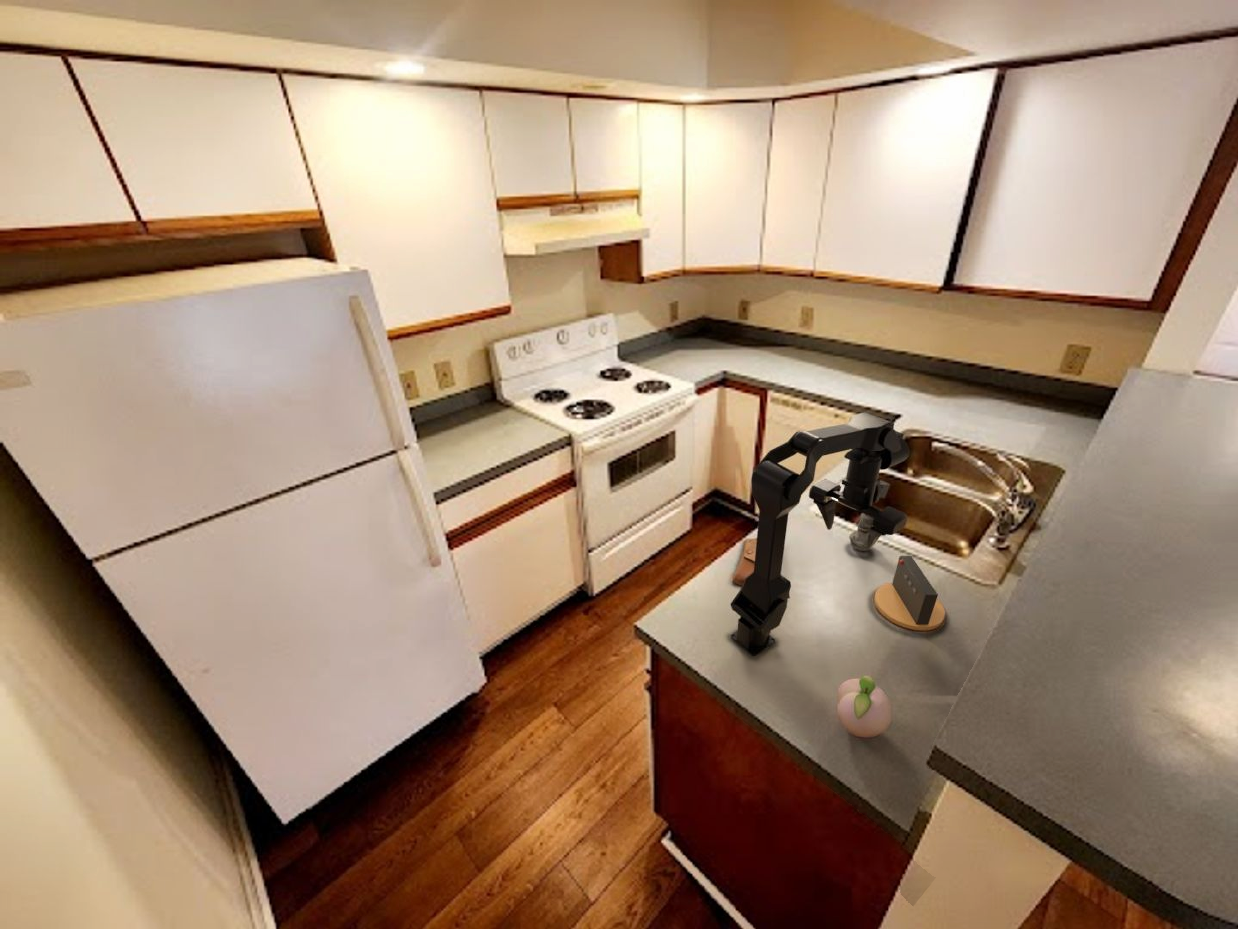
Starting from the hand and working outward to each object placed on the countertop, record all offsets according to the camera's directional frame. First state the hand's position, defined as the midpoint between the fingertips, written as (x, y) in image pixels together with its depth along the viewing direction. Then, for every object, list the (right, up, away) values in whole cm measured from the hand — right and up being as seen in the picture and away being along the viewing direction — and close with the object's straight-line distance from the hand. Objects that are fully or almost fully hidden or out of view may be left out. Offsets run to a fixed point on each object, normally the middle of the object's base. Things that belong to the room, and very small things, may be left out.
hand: (848, 538), depth 113 cm
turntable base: (+12, -15, 0) cm, 20 cm away
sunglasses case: (-16, -9, +15) cm, 24 cm away
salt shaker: (+10, -6, +18) cm, 22 cm away
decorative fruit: (-8, -29, -23) cm, 38 cm away
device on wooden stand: (+12, -14, -1) cm, 19 cm away
